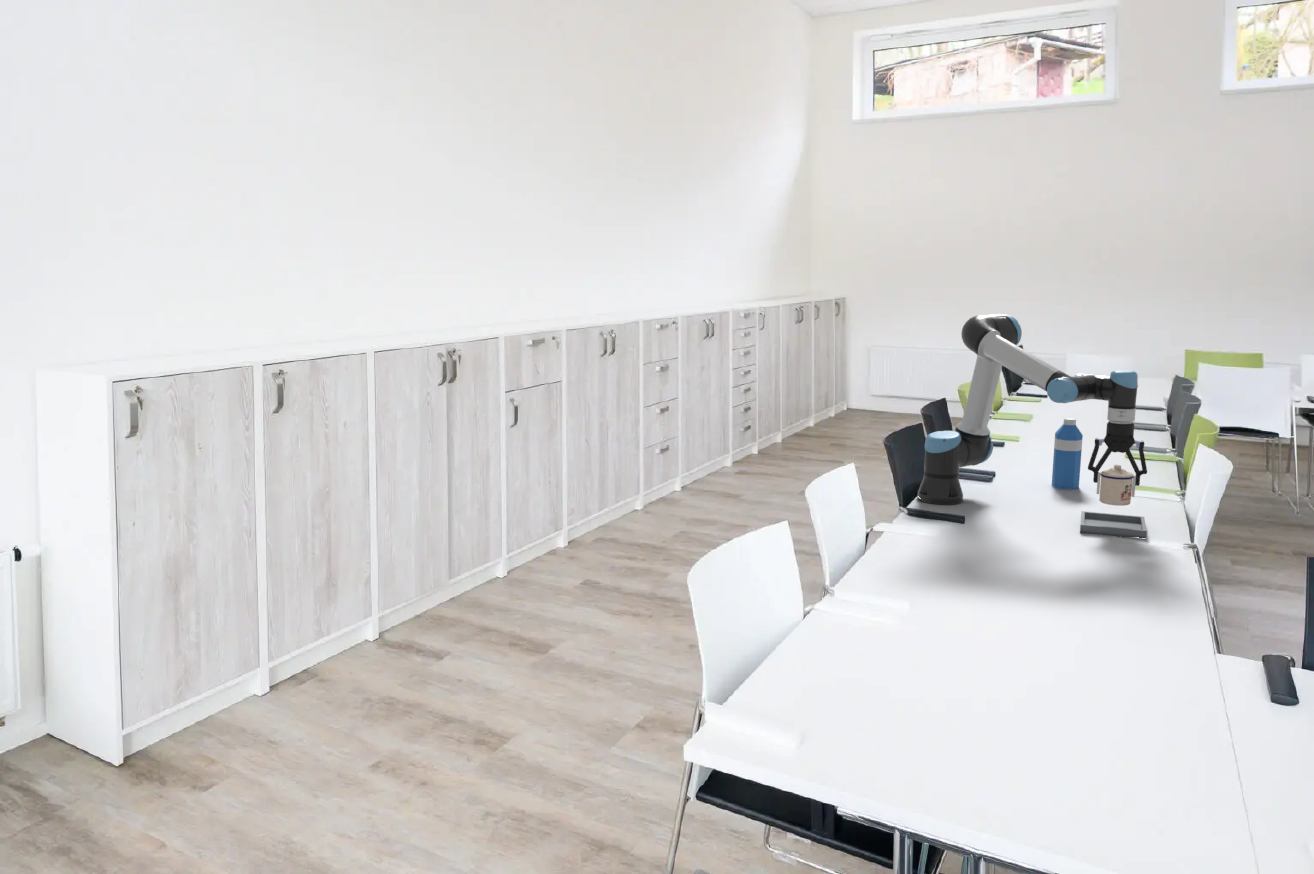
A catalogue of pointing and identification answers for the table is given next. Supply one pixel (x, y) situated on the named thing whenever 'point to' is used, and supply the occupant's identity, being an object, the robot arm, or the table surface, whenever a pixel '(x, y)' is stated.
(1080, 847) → the table surface
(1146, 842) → the table surface
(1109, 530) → the tray
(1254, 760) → the table surface
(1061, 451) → the water bottle
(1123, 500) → the teacup with lid
